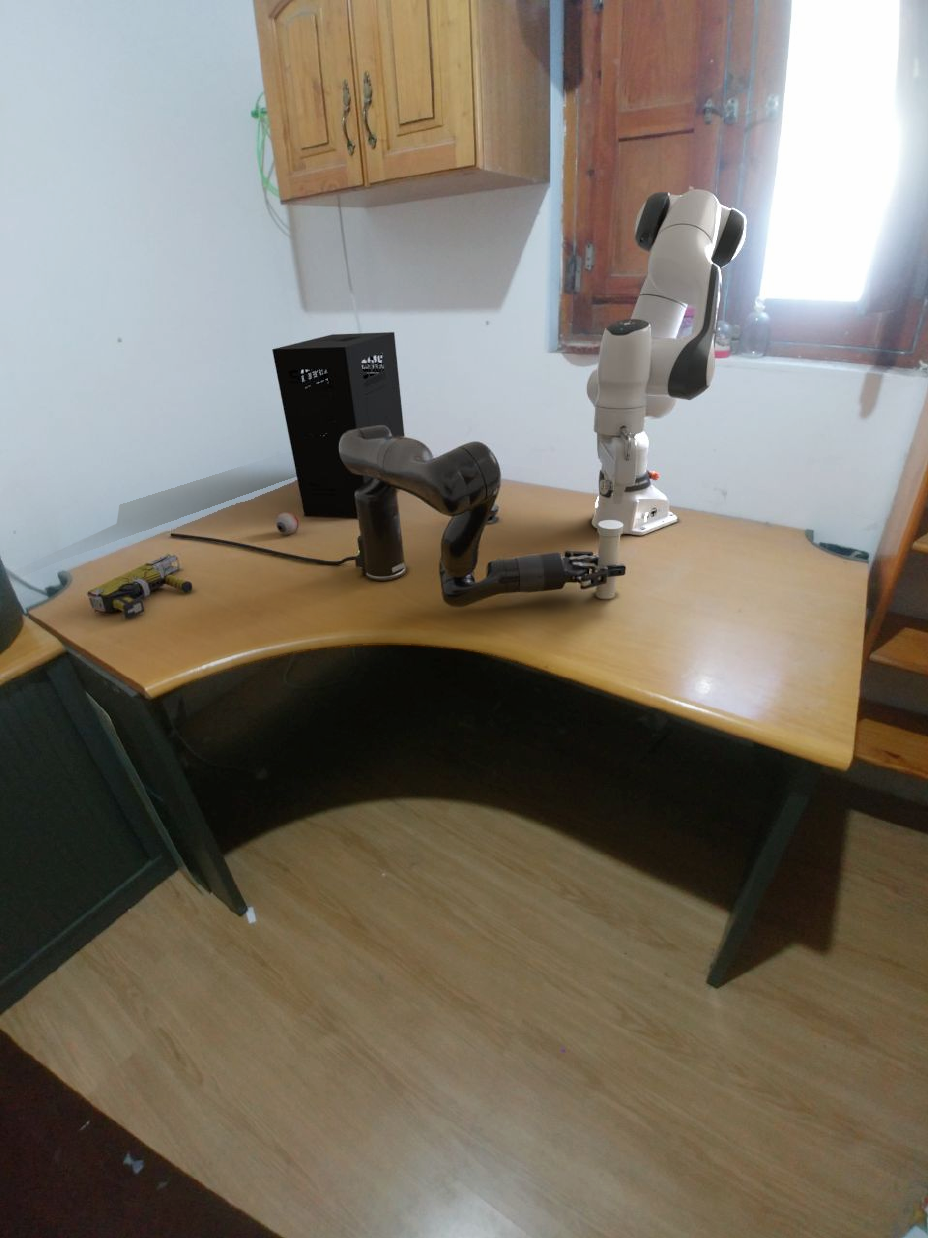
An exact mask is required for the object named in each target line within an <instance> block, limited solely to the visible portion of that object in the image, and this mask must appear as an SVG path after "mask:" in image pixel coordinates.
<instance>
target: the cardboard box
mask: <svg viewBox="0 0 928 1238" xmlns="http://www.w3.org/2000/svg"><path fill="white" fill-rule="evenodd" d="M396 346H397V345H396V337H395V331H388V332H362V333H361V332H359V333H340V334H339V333H333V334H328V335H324V336H320V337H315V338H312V339H308V340H305V341H300V342H296V343H292V344H288V345H284V346H281V347H276V348H272V350H271V351H272V356H273V361H274V367H275V371H276V377H277V381H278V387H279V393H280V397H281V404H282V407H283V412H284V418H285V423H286V428H287V429H286V430H287V433H288V438H289V444H290V449H291V454H292V460H293V464H294V470H295V474H296V480H297V485H298V490H299V495H300V500H301V505H302V510H303V511H302V512H303V516H304V517H329V518H356V519H358V516H357V509H356V502H355V491H356V490H357V489H358V488H359V487H360V486H362V485H363V484H365V483H366V482H368V481H369V480H370V479H371V478H372V477H369V476H364V475H356V474H353V473H351V472H350V471H349V470H348V469H347V468H346V467H345V465H344V464H343V462H342V460H341V457H340V454H339V441H340V438H341V436H342V435H343V433H344V432H346V431H348V430H350V429H355V428H361V427H367V426H374V425H385V426H386V427H388V429H389V430H390V432H391V434H392V436H404V437H406V436H405V427H404V418H403V417H404V416H403V406H402V397H401V387H400V385H401V384H400V376H399V366H398V356H397V347H396ZM375 359H376V360H375ZM364 360H365V361H366V362H363V361H364ZM379 361H381V362H379ZM302 371H303V372H302ZM398 490H399V489H397V491H398Z"/></svg>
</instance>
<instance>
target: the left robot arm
mask: <svg viewBox="0 0 928 1238" xmlns="http://www.w3.org/2000/svg"><path fill="white" fill-rule="evenodd" d="M339 454H340V457H341V460H342V462H343V464H344V465H345V467H346V468H347V469H348V470H349V471H350V472H351V473H353V474H356V475H364V476H369V477H372V478H371V479H370V480H369V481H368V482H366V483H365V484H363V485H362V486H360V487H359V488H358V489H357V490H356V491H355V502H356V509H357V516H358V518H357V521H358V528H359V536H357V538H356V540H357V546H358V554H357V555H355V556H347V557H345V558H342V559H341V560H325V559H319V558H313V557H312V558H311V557H306V556H300V555H296V554H292V553H291V554H290V553H286V552H282V551H277V550H273V549H269V548H264V547H260V546H256V545H255V546H254V545H251V544H246V543H241V542H236V541H231V540H225V539H219V538H212V537H206V536H200V535H192V534H191V535H190V534H183V533H174V532H173V533H170V537H174V538H182V539H183V538H184V539H192V540H198V541H199V540H201V541H207V542H213V543H214V542H215V543H219V544H224V545H225V544H226V545H230V546H234V547H235V546H236V547H241V548H245V549H250V550H254V551H258V552H263V553H267V554H272V555H275V556H279V557H285V558H290V559H294V560H299V561H304V562H308V563H314V564H315V563H316V564H322V565H329V566H330V565H331V566H338V565H343V564H344V563H347V562H350V561H354V564H355V567H356V568H361V574H362V576H363V577H367V578H368V579H370V580H372V581H380V582H383V581H392V580H395V579H398V578H400V577H402V576H404V575H405V573H406V572H407V567H406V561H405V552H404V543H403V536H402V535H403V534H402V525H401V516H400V508H399V507H400V506H399V499H398V490H400V491H403V492H405V493H408V494H410V495H412V496H414V497H415V498H417V499H419V500H421V501H422V502H423V503H425V504H426V505H428V506H429V507H430V508H432V509H433V510H434V511H436V512H438V513H439V514H442V515H444V516H447V517H451V518H450V519H449V521H448V523H447V524H446V527H445V529H444V531H443V533H442V536H441V540H440V558H439V560H438V575H439V583H440V584H439V585H440V591H441V598H442V600H443V602H444V604H446V605H448V606H450V607H452V608H464V607H468V606H470V605H473V604H476V603H478V602H481V601H483V600H486V599H489V598H492V597H495V596H499V595H506V594H507V595H508V594H515V593H516V594H517V593H537V592H547V591H548V592H549V591H558V590H562V589H564V587H565V585H566V583H573V584H579V588H580V589H581V590H587V589H591V588H594V587H595V588H596V586H598V585H602V584H605V583H607V577H613V576H617V577H621V576H622V577H623V576H625V575H626V570H627V566H626V565H625V564H623V563H621V564H620V563H618V565H609V566H597V565H598V554H594V551H584V550H583V551H582V550H581V551H580V550H565V551H564V556H563V555H562V554H561V553H560V552H547V553H546V552H545V553H537V554H528V555H527V554H526V555H521V556H517V557H509V558H499V559H492V560H489V561H488V562H487V564H486V567H485V568H486V569H485V577H484V578H483V579H481V580H479V581H477V582H476V576H475V570H476V568H477V565H478V561H479V554H480V546H481V545H480V544H481V540H482V536H483V533H484V530H485V527H486V525H487V524H488V523H487V520H488V518H489V515H490V513H491V510H492V507H493V505H494V503H495V502H496V501H497V498H498V495H499V493H500V490H501V485H502V472H501V467H500V464H499V462H498V459H497V457H496V456H495V453H494V452H493V451H492V450H491V448H490V447H488V446H487V444H485V443H483V442H481V441H476V440H475V441H469V442H467V443H464V444H461V445H459V446H457V447H455V448H453V449H451V450H449V451H447V452H445V453H443V454H440V455H439V456H436V457H434V455H433V452H432V451H431V450H430V448H429V447H428V446H427V444H426V443H424V442H422V441H420V440H419V439H416V438H413V437H407V436H405V437H404V436H392V434H391V432H390V430H389V429H388V427H386V426H385V425H374V426H367V427H361V428H355V429H350V430H348V431H346V432H344V433H343V435H342V436H341V438H340V441H339ZM397 489H398V490H397ZM495 504H496V503H495ZM590 570H591V571H590ZM597 570H600V571H598V572H597ZM598 579H600V580H598Z"/></svg>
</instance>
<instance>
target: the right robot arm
mask: <svg viewBox="0 0 928 1238" xmlns="http://www.w3.org/2000/svg"><path fill="white" fill-rule="evenodd" d="M747 222H748V221H747V217H746V215H745V214H744V213H743V212H741V211H739V210H738V209H736V208H734V207H731V208H729V207H726V206H725V205H722V204H720V202H719V200H718V198H717V197H716V196H715V194H713V193H712V192H710V191H708V190H705V189H700V188H695V189H692V190H688V191H686V192H683V194H682V195H679V194H670V192H669V191H666V192H665V191H661V192H660V191H658V192H654V193H653V194H651V195H650V196H648V197H647V199H646V201H645V202H644V203H643V205H642V206H641V208H640V209H639V211H638V213H637V216H636V220H635V224H634V235H635V236H634V241H635V243H636V245H637V246H638V247H639V248H640V249H642V250H643V251H646V252H648V253H650V254H649V257H648V264H647V266H648V267H647V272H648V273H647V276H646V277H645V280H644V282H643V285H642V287H641V289H640V292H639V295H638V298H637V300H636V303H635V307H634V309H633V312H632V315H631V317H630V318H627V319H622V320H617V321H613V322H611V323H610V324H609V325H607V326H606V327H605V329H604V331H603V334H602V339H601V343H600V348H599V352H598V353H599V355H598V362H597V367H596V368H595V369H594V370H593V371H592V372H591V373H590V375H589V377H588V379H587V383H586V394H587V398H588V399H589V401H590V402H591V404H592V406H593V407H594V417H593V418H594V420H593V432H594V433H596V447H597V448H596V449H597V458H598V459H599V462H600V463H601V468H600V470H599V474H598V492H599V493H598V496H597V499H596V502H595V503H594V504H595V505H594V507H595V511H594V514H593V517H592V520H591V525H592V526H593V527H594V528H595V529H596V530H597V529H598V523H599V522H601V521H604V520H615V521H619V522H621V523H623V534H622V535H625V534H626V535H632V536H633V535H634V536H645V535H646V534H650V533H652V532H654V531H657V530H660V529H662V528H665V527H668V526H670V525H672V524H675V523H677V522H678V516H677V515H676V514H675V513H674V512H672V511H670V503H669V502H670V501H669V498H668V497H667V496H666V495H665V494H664V493H663V492H661V491H660V490H659V489H658V488H656V487H655V486H654V485H652V483H651V480H653V481H658V479H659V478H660V473H659V472H657V471H654V470H651V471H649V470H648V469H647V466H648V458H649V457H648V456H649V446H650V441H649V437H648V435H647V434H646V432H645V431H644V430H645V423H646V422H645V421H646V420H655V419H662V418H664V417H666V416H667V415H669V414H670V412H672V410H673V409H674V408H675V406H676V404H677V402H678V399H679V400H687V401H692V400H694V399H695V398H697V397H698V396H700V395H702V394H703V393H704V392H705V391H706V390H707V389H709V387H710V385H711V383H712V380H713V378H714V374H715V369H716V355H715V349H716V348H715V347H716V339H717V332H718V325H719V324H718V323H719V317H720V316H719V315H720V309H721V308H720V307H721V300H722V299H721V298H722V273H721V269H722V268H724V267H727V266H729V264H730V263H731V262H732V260H733V259H735V257H736V256H737V255H738V253H739V252H740V250H741V249H742V246H743V245H744V242H745V238H746V234H747V231H746V230H747ZM688 306H690V307H691V308H693V309H694V312H693V320H692V328H691V333H690V334H689V335H686V336H684V337H679V338H677V336H678V333H679V331H680V328H681V325H682V323H683V320H684V317H685V315H686V314H685V313H686V311H687V308H688Z"/></svg>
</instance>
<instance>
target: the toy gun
mask: <svg viewBox="0 0 928 1238" xmlns="http://www.w3.org/2000/svg"><path fill="white" fill-rule="evenodd" d="M175 562H176V563H177V566H176V565H173V563H175ZM180 569H181V566H180V561H179V557H178V556H177V555H176V554H172V555H171V553H167V554H166V555H164V556H161V557H159V558H157V559H155V560H153V561H151V562H148V563H147V562H146V563H145V564H142V565H140V566H138V567H136V568H134V569H132V570H130V571H127V572H126V573H123V574H122V575H119V576H117V577H115V578H113V579H111V580H108V581H107V582H104V583H103V584H100V585H98V586H96V587H94V588H92V589H90V590H88V591H87V592H86V593H87V597H88V601H89V605H90V608H91V609H92V610H94V612H95V613H99V614H101V613H112V612H116V611H121V612H123V613H124V616H125V617H124V618H125V619H127V620H129V619H131V618H134V617H135V616H138V615H140V614H143V613H145V607H144V602H143V599H145V598H147V597H149V596H150V595H151V591H154V590H156V589H159V588H162V587H163V586H164V585H165V584H166V585H167V586H170V587H172V588H174V589H177V590H179V591H182V592H183V593H186V594H187V593H189V592H191V591H192V590H193V584H192V582H190V581H188V580H184V579H181V578H179V577H178V576H174V575H173V573H174V572H176V571H177V570H180Z"/></svg>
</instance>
